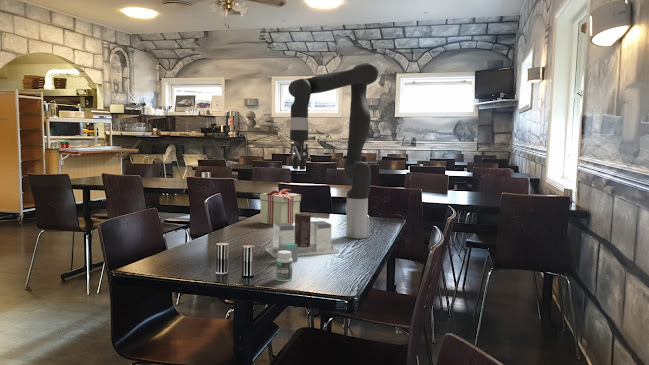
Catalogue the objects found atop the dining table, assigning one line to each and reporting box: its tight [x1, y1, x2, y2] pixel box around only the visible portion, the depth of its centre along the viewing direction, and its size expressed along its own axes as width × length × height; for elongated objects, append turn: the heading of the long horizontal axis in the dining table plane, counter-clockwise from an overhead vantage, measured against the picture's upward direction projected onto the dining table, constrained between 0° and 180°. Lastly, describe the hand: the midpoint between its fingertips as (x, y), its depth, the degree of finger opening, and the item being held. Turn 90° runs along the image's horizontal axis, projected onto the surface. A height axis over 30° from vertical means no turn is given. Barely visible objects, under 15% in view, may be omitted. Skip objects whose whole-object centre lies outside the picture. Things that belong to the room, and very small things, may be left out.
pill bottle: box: [275, 250, 293, 283], centre depth 143 cm, size 5×5×8 cm
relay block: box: [279, 242, 298, 263], centre depth 165 cm, size 5×4×6 cm
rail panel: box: [265, 220, 340, 259], centre depth 179 cm, size 25×12×11 cm, turn 112°
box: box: [294, 212, 312, 248], centre depth 180 cm, size 6×4×12 cm
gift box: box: [259, 188, 302, 226], centre depth 243 cm, size 17×18×17 cm
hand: (298, 169), depth 196 cm, fingers open, 8 cm apart
